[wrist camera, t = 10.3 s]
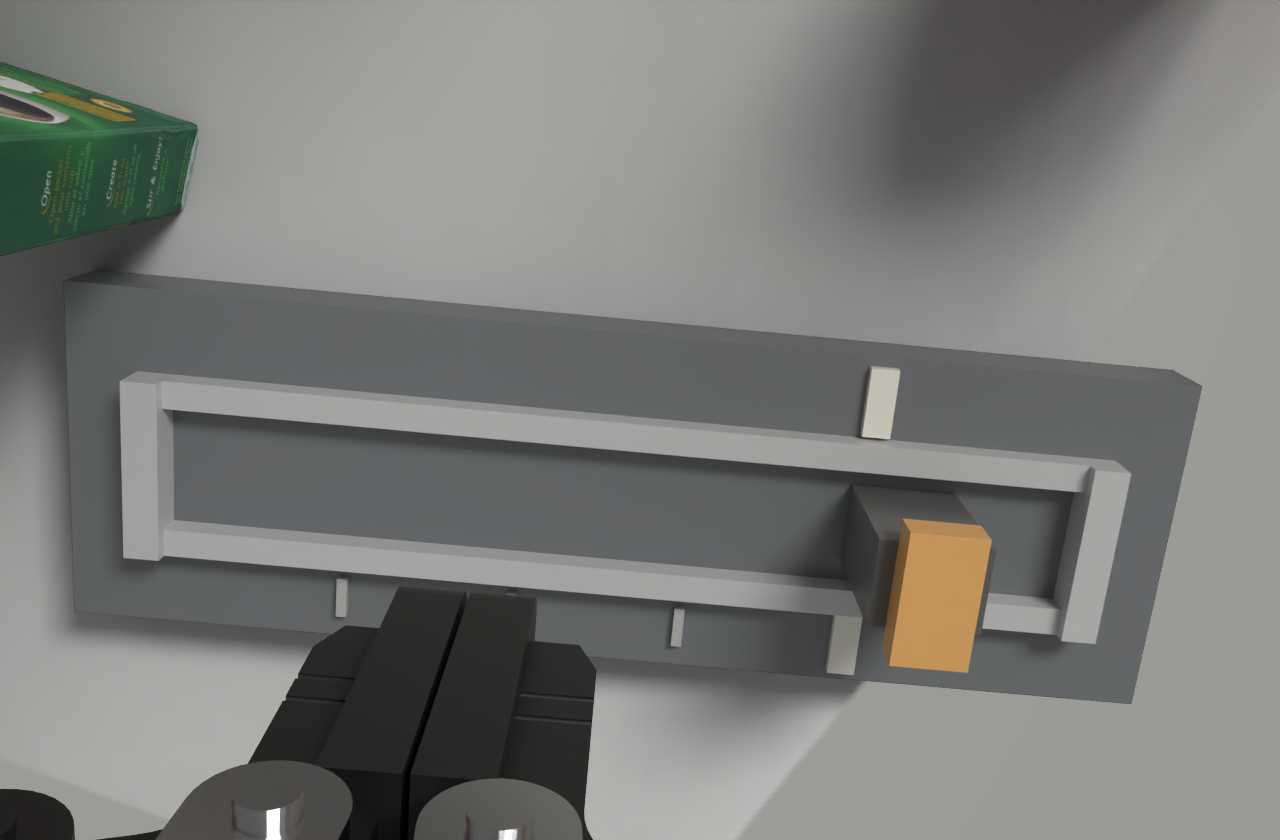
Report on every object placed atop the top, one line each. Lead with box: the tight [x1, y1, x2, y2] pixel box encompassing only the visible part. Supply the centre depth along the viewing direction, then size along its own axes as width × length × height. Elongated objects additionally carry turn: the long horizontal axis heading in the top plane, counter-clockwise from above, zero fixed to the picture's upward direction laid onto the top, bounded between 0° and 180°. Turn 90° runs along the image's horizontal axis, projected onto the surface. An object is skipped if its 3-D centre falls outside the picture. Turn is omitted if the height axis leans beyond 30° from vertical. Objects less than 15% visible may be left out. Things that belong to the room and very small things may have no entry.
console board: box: [64, 270, 1202, 704], centre depth 36 cm, size 10×32×3 cm, turn 85°
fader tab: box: [840, 484, 997, 673], centre depth 33 cm, size 4×3×5 cm
